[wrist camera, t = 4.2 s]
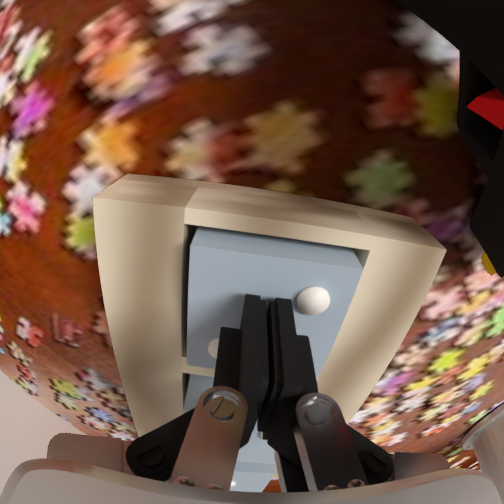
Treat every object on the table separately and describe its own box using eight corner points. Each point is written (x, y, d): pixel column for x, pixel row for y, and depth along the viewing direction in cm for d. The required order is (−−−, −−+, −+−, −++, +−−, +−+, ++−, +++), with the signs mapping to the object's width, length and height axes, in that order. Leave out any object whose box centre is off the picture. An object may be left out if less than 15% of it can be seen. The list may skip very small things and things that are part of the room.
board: (412, 217, 14) (446, 249, 11) (299, 448, 25) (301, 478, 22) (127, 173, 13) (92, 197, 10) (155, 432, 24) (148, 462, 21)
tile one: (274, 444, 19) (275, 475, 16) (260, 470, 22) (260, 495, 19) (191, 436, 19) (186, 467, 16) (192, 463, 21) (188, 488, 19)
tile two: (303, 382, 15) (309, 424, 13) (280, 432, 18) (281, 466, 16) (191, 371, 15) (182, 413, 12) (191, 423, 18) (185, 457, 15)
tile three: (346, 238, 12) (365, 271, 10) (311, 341, 15) (318, 381, 13) (202, 217, 12) (189, 248, 10) (195, 328, 15) (186, 368, 13)
